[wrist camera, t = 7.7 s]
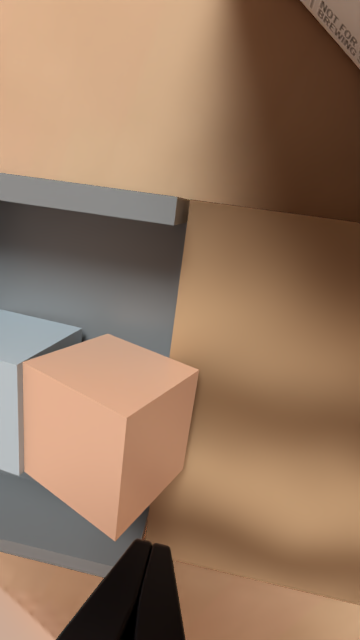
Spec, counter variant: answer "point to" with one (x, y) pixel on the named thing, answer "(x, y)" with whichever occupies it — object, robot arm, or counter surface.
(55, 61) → the counter surface
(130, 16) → the counter surface
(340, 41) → the tea box
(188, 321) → the board
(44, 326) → the gray cube
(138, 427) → the peach cube
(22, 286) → the tray
